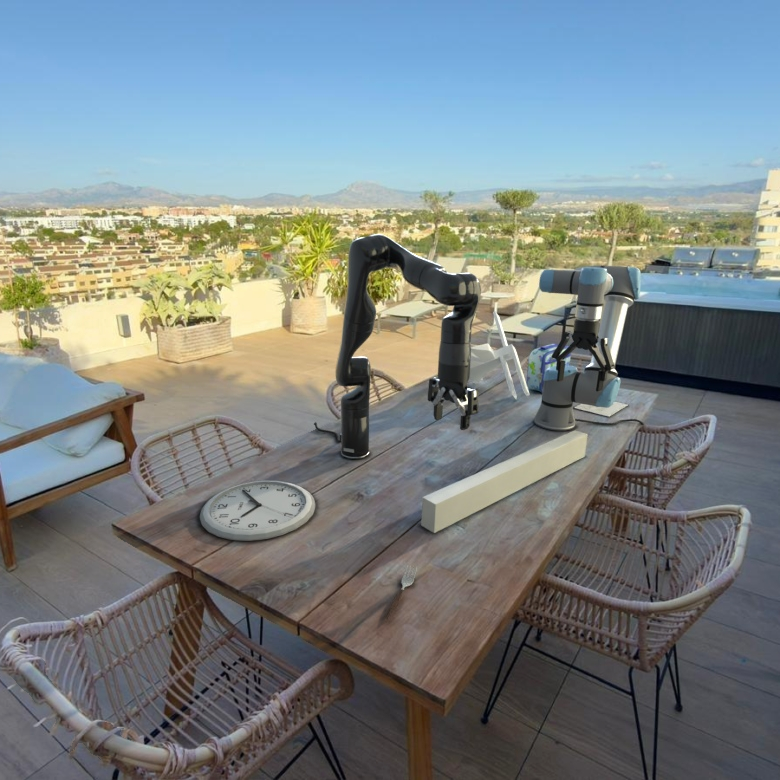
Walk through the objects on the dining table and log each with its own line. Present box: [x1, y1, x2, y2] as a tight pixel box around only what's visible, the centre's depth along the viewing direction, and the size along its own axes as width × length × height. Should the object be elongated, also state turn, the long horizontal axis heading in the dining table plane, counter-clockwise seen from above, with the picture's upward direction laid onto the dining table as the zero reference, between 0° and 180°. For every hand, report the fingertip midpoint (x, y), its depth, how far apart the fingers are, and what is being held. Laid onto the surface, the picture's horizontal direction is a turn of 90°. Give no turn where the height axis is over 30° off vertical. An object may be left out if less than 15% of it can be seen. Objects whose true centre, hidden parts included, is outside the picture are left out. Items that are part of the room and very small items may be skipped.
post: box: [420, 429, 589, 534], centre depth 154 cm, size 72×5×8 cm, turn 131°
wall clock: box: [199, 480, 316, 542], centre depth 140 cm, size 30×2×30 cm
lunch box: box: [526, 343, 572, 394], centre depth 248 cm, size 26×11×21 cm, turn 135°
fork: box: [386, 563, 418, 620], centre depth 108 cm, size 3×16×2 cm, turn 160°
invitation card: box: [573, 401, 629, 418], centre depth 226 cm, size 21×1×15 cm
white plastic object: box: [468, 310, 531, 400], centre depth 245 cm, size 37×45×31 cm
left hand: (450, 424), depth 128 cm, fingers open, 8 cm apart
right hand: (578, 385), depth 166 cm, fingers open, 13 cm apart
